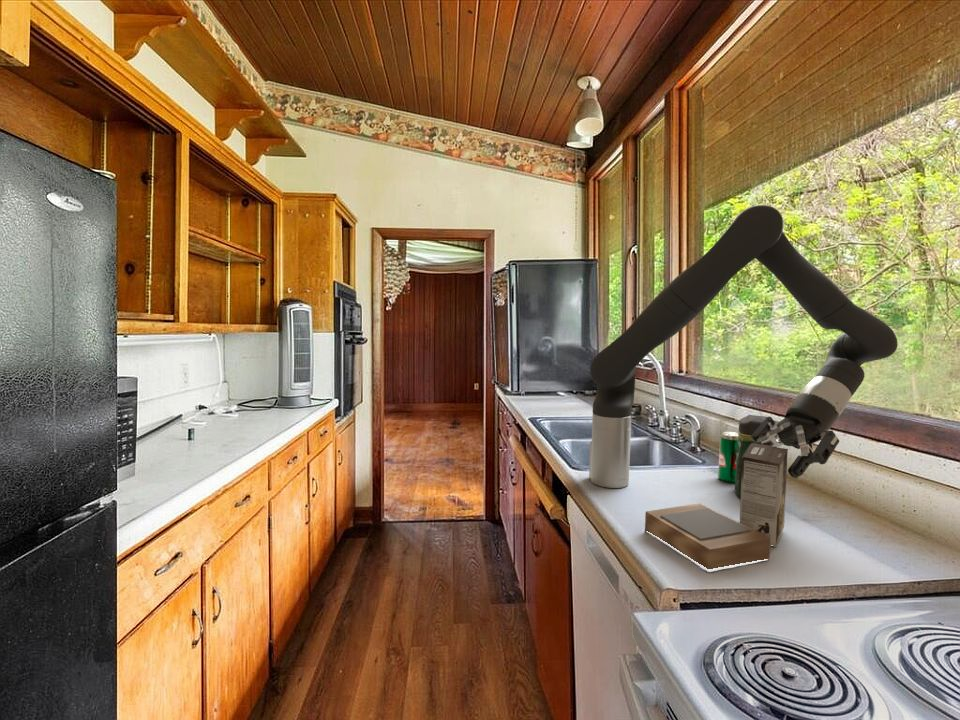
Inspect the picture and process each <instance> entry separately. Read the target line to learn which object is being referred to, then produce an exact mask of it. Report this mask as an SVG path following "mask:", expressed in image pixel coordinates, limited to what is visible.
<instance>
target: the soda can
mask: <svg viewBox="0 0 960 720" xmlns="http://www.w3.org/2000/svg"><path fill="white" fill-rule="evenodd" d="M737 447H738V432H734V431H724V432H722V433H721V435H720V437H719V450H718V451H719V454H718V467H717V468H718V472H717V473H718V474H717V477H718V479H719V480H721V482H725V483H731V484H735V476H736V462H737Z"/></svg>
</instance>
